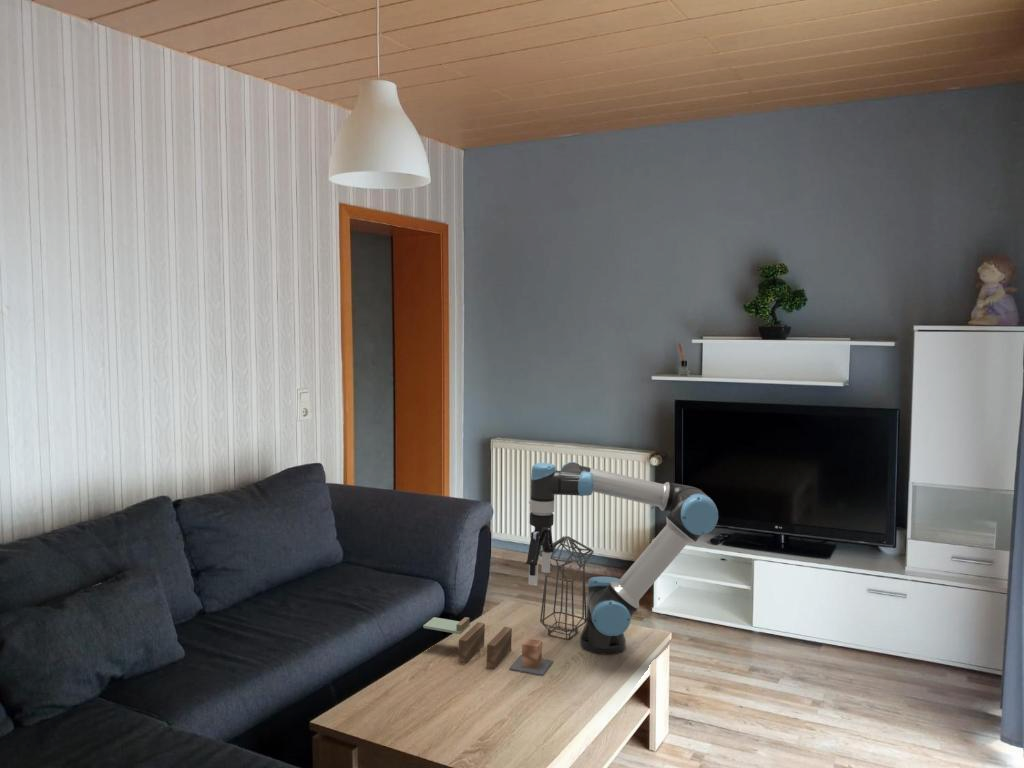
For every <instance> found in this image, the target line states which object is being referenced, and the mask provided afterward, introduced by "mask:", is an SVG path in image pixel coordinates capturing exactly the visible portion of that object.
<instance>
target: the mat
mask: <svg viewBox="0 0 1024 768" xmlns="http://www.w3.org/2000/svg"><path fill="white" fill-rule="evenodd" d="M553 663H554V660H553V659H547V658H543V657H542V663H541V664H540V665H539V666H538V668H537V669H535V668H530V667H525V666H522V654H520V655H519V656H518V657H517V658H516V659H515V661H514V662H513V663H512V664H511V665H510V667H509V668H508V669H509V671H513V672H517V671H518V673H523V674H528V675H535V676H540V677H544V676H545V674H546V673H547V671H548V670H549V669H550V668H551V667H552V665H553ZM551 664H552V665H551ZM549 667H550V668H549Z"/></svg>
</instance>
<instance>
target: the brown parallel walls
mask: <svg viewBox="0 0 1024 768" xmlns="http://www.w3.org/2000/svg"><path fill="white" fill-rule="evenodd" d="M485 626H486V624H485V623H484V622H480V621H479V622H476V623H475V624H474V625H473V626H472V627H470V629H469V630H468V631H466V632H465V634H463V635H462V636H461V637H460V638H459V639H458V654H457V655H458V656H457V657H458V660H457V661H458V662H457V663H459V664H462V663H464V665H466V664H468V662H469V661H470V660H471V659H472V658H473V657H474V656H475V655H476V654H477V653H478V652H479V651H480V650H481V649H482V648H483V647H484V646H485V633H486V632H485V631H486V629H485ZM512 630H513V628H512V627H509V626H503V627H502V629H501V630H499V632H498V633H497V634H495V636H494V637H493V638H492V639H491V640H490V641H489V642H488V643H487V644H486V669H489V668H490V669H491V670H495V669H496V668H497V667H498V666H499V664H500V663H501V662H502V661H503V660H504V659H505V658H506V656H508V654H509V653H510V652H511V651H512V637H513V636H512V633H513V631H512ZM495 667H496V668H495Z"/></svg>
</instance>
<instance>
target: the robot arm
mask: <svg viewBox="0 0 1024 768" xmlns="http://www.w3.org/2000/svg"><path fill="white" fill-rule="evenodd" d="M556 467H557V466H556V464H553V463H551V462H549V463H548V462H537V463H534V464H533V465H532V467H531V475H530V476H531V478H530V500H529V501H528V503H529V504H530V507H529V511H530V513H529V525H530V526H532V527H534V531H531V533H530V541H529V547H528V553H527V558H526V559H527V560H526V561H525V564H526V565H528V581H527V583H528V585H529V586H535V587H537V586H538V582H539V581H538V579H539V576H538V575H539V564H538V561H539V558H540V557H539V556H540V551H541V550H542V549H543V551H545V552H542V557H541V573H544V574H545V573H547V574H548V573H549V574H550V573H551V571H550V569H551V566H550V561H551V560H552V559H551V555H552V552H553V551H554V549H553V543H554V542H553V534H552V527H553V526H554V523H555V522H554V521H555V519H554V517H555V515H554V512H555V495H557V496H558V495H559V496H562V495H563V496H579V497H585V496H592V494H594V493H598V494H602V495H605V496H612V497H615V498H619V499H622V500H623V499H624V500H628V501H632V502H637V503H641V504H646V505H650V506H654V507H658V508H659V509H660V511H662V512H665V513H668V515H666V517H665V519H666V525H665V526H664V527H663V528H662V529H661V530H660V531H659V533H658V534H657V536H656V537H655V538H654V539H653V540H652V541H651V543H649V545H648V546H647V547H646V548H645V549H644V550H643V552H641V554H640V555H639V557H637V558H636V560H635V561H634V562H633V563H632V564H631V566H630V567H629V568H628V569H627V571H625V572H624V574H623V575H622V576H621V577H620V578H618V577H612V576H592V577H591V578H589V579H588V581H587V587H586V588H587V596H586V598H587V599H586V618H587V619H586V623H585V624H584V626H583V629H582V631H581V635H580V638H579V641H580V642H579V645H580V647H581V648H582V649H584V650H586V651H588V652H591V653H594V654H600V655H614V654H619V653H621V652H623V651H624V650H625V649H626V643H627V642H626V641H627V640H626V637H625V632H627V630H628V629H629V626H630V624H631V620H632V617H633V616H634V614H635V613H636V612H637V611H638V610H639V608H640V600H641V598H643V596H644V595H645V594H646V593H647V592H648V590H649V589H650V588H651V587H652V585H653V584H654V583H655V582H656V581H657V580H658V578H659V577H660V576H661V575H662V573H664V572H665V570H666V569H667V568H668V567H669V566H670V564H672V562H673V561H674V560H675V559H676V557H677V556H679V554H680V553H681V552H682V550H684V548H685V547H686V546H687V545H688V544H690V543H692V544H693V543H697V540H699V539H700V538H701V536H702V535H707V534H709V533H710V532H712V531H713V530H714V528H715V527H716V526H717V524H718V520H719V510H718V508H717V505H716V503H715V502H714V500H713V499H711V497H709V495H707V494H706V493H705V492H704V491H703V490H702V489H700V488H697V487H694V486H690V485H686V484H679V483H674V482H669V481H666V482H665V483H660V482H655V481H650V480H646V479H642V478H638V477H634V476H629V475H624V474H619V473H617V472H616V473H615V472H610V471H608V470H607V471H605V470H603V469H602V470H601V469H598V468H594V467H589V466H585V465H581V464H579V463H577V462H575V461H569V462H566V463H565V464H563V465H562V467H561V468H560V470H557V469H556ZM550 552H551V553H550Z"/></svg>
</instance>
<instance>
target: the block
mask: <svg viewBox="0 0 1024 768" xmlns="http://www.w3.org/2000/svg"><path fill="white" fill-rule="evenodd" d="M521 646H522V647H521V655H522V666H525V667H530V668H535V669H537V668H538V666H539V665H540V664H541V663H542V658H543V640H539V639H533V638H526V639H525V640H524V641H523V643H522V645H521Z"/></svg>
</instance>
